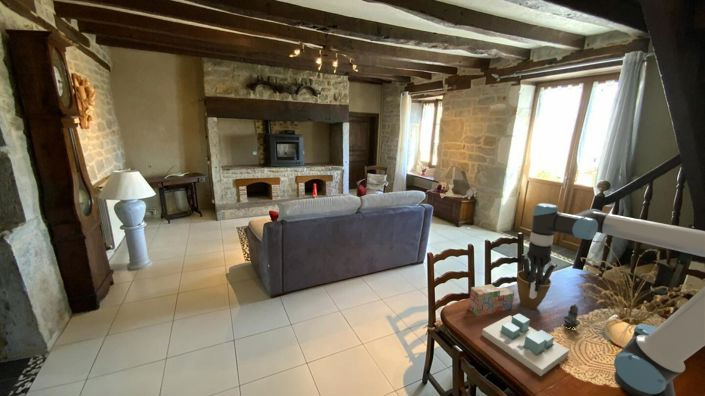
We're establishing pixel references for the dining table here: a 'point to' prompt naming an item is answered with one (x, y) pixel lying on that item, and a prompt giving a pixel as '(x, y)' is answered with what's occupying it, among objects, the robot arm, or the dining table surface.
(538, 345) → the button
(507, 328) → the button
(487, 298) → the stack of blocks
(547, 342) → the button
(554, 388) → the dining table surface
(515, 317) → the button
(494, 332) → the board
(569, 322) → the dark grey tall piece
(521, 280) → the plant pot
